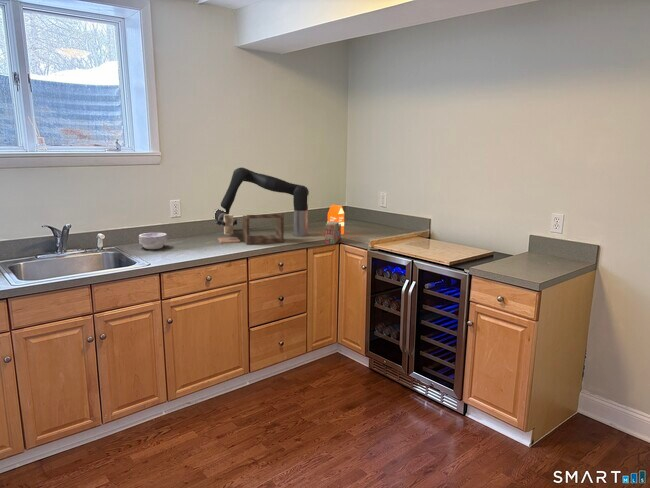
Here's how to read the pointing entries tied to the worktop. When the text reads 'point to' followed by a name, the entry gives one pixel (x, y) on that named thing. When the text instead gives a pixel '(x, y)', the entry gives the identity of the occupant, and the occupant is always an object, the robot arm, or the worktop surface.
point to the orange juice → (336, 215)
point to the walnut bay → (264, 238)
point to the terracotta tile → (229, 240)
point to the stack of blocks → (332, 232)
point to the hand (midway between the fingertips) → (229, 224)
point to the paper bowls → (153, 240)
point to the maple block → (228, 224)
